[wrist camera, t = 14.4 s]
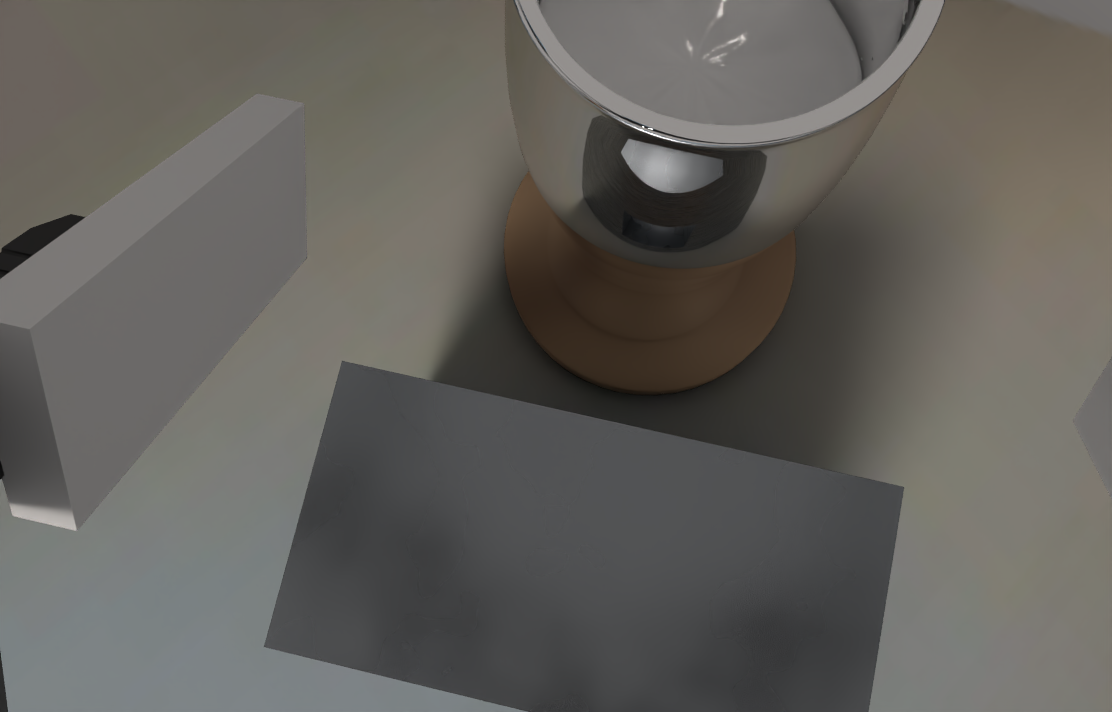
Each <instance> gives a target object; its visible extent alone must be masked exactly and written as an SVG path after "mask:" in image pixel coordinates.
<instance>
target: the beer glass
mask: <svg viewBox="0 0 1112 712" xmlns="http://www.w3.org/2000/svg"><path fill="white" fill-rule="evenodd" d="M944 3H945V0H505V56H506V68H507V80H508V91H509V99H510V105H511V110H512V115H513V119H514V124H515V128H516V133H517V137H518V142H519V145H520V149H521V152H522V155H523V158H524V161H525V163H526V166H527V168H528V170H529V172H530V174H531V177H532V179H533V181H534V183H535V185H536V188H537V190H538V192H539V194H540V196H541V198H542V200H543V201H544V203H545V205H546V206H547V208H548V209H549V211H550V213H551V216H550V220H549V225H548V231H547V255H548V261H549V266H550V269H551V273H552V275H553V278H554V280H555V282H556V284H557V286H558V288H559V290H560V292H561V293H562V295H563V296H564V298H565V299H566V300H567V302H568V303H569V304H570V305H571V307H572V308H573V309H574V310H575V311H576V312H577V313H578V314H579V315H581V316H582V317H583V318H584V319H585V320H587V321H588V322H590V323H591V324H593V325H594V326H596V327H598V328H599V329H601V330H603V331H606V332H608V333H610V334H613V335H616V336H620V337H623V338H628V339H634V340H661V339H667V338H672V337H675V336H679V335H682V334H684V333H687V332H689V331H691V330H693V329H695V328H697V327H699V326H701V325H702V324H704V323H705V322H707V321H708V320H709V319H711V318H712V317H713V316H714V315H715V314H716V313H717V312H718V311H719V310H720V309H721V308H722V307H723V306H724V305H725V304H726V302H727V301H728V300H729V298H730V297H731V295H732V294H733V292H734V290H735V288H736V286H737V284H738V282H739V280H740V277H741V275H742V272H743V268H744V264H745V262H747V261H749V260H751V259H752V258H754V257H756V256H758V255H759V254H761V253H763V252H764V251H765V250H767V249H768V248H770V247H771V246H773V245H774V244H775V243H777V242H778V241H779V240H781V239H782V238H784V237H785V236H786V235H788V234H789V233H790V232H792V231H793V230H794V229H795V228H797V227H798V226H799V225H800V224H801V223H802V222H804V221H805V220H806V219H807V218H808V217H809V216H810V215H811V214H812V212H813V211H814V210H815V209H816V208H817V207H818V206H819V205H820V204H821V202H822V201H823V200H824V199H825V198H826V197H827V196H828V195H829V194H830V192H831V191H832V190H833V189H834V188H835V187H836V186H837V185H838V183H839V182H840V181H841V180H842V178H843V177H844V176H845V174H846V173H847V171H848V170H849V168H850V167H851V165H852V164H853V163H854V161H855V160H856V158H857V157H858V155H859V154H860V152H861V151H862V149H863V148H864V147H865V145H866V144H867V142H868V141H869V139H870V137H871V136H872V134H873V133H874V131H875V129H876V127H877V126H878V124H879V122H880V120H881V119H882V117H883V115H884V114H885V112H886V110H887V108H888V107H889V105H890V103H891V101H892V99H893V98H894V96H895V94H896V92H897V90H898V88H899V86H900V84H901V83H902V81H903V79H904V77H905V75H906V73H907V71H908V69H909V68H910V67H911V66H912V64H913V63H914V62H915V60H916V59H917V58H918V56H919V55H920V53H921V52H922V50H923V49H924V47H925V45H926V44H927V42H928V40H929V39H930V37H931V35H932V33H933V31H934V29H935V27H936V25H937V22H938V20H939V17H940V15H941V12H942V9H943V6H944Z"/></svg>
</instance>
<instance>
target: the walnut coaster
mask: <svg viewBox="0 0 1112 712" xmlns="http://www.w3.org/2000/svg"><path fill="white" fill-rule="evenodd" d="M550 216H551V213H550V211H549V209H548V208H547V206H546V205H545V203H544V201H543V200H542V198H541V196H540V194H539V192H538V190H537V188H536V185H535V183H534V181H533V179H532V177H531V174H530V172H529V171H528V173H527V174H526V176H525V177H524V179H523V180H522V182H521V184H520V186H519V188H518V190H517V192H516V194H515V196H514V199H513V202H512V205H511V208H510V211H509V214H508V218H507V224H506V229H505V237H504V258H505V269H506V274H507V278H508V283H509V287H510V291H511V294H512V298H513V300H514V303H515V305H516V308H517V311H518V313H519V315H520V317H521V319H522V321H523V322H524V324H525V326H526V328H527V330H528V331H529V332H530V334H531V335H532V336H533V338H534V339H535V341H536V342H537V343H538V345H539V346H540V347H541V348H542V349H543V350H544V351H545V352H546V353H547V354H548V355H549V356H550V357H551V358H552V359H553V360H555V361H556V362H557V363H559V364H560V365H561V366H562V367H564V368H565V369H566V370H568V371H569V372H571V373H573V374H574V375H576V376H578V377H579V378H581V379H583V380H585V381H588V382H590V383H592V384H595V385H597V386H599V387H603V388H606V389H609V390H613V391H616V392H622V393H628V394H635V395H661V394H671V393H677V392H681V391H685V390H689V389H693V388H696V387H698V386H701V385H703V384H706V383H709V382H711V381H713V380H714V379H716V378H718V377H720V376H722V375H724V374H725V373H727V372H728V371H730V370H731V369H732V368H734V367H735V366H737V365H738V364H739V363H741V362H742V361H743V360H744V359H745V358H746V357H747V356H748V355H749V354H750V353H751V352H752V351H753V350H754V349H755V348H756V347H757V346H758V345H760V344H761V342H762V341H763V340H764V339H765V337H766V336H767V335H768V334H769V332H770V331H771V330H772V328H773V327H774V325H775V323H776V322H777V320H778V318H779V317H780V315H781V313H782V311H783V309H784V306H785V304H786V301H787V299H788V297H789V294H790V290H791V286H792V282H793V278H794V272H795V263H796V239H795V233H794V230H793V231H792V232H790V233H789V234H788V235H786V236H785V237H784V238H782V239H781V240H779V241H778V242H777V243H775V244H774V245H773V246H771V247H770V248H768V249H767V250H765V251H764V252H763V253H761V254H759V255H758V256H756V257H754V258H752V259H751V260H749V261H747V262H745V264H744V268H743V272H742V275H741V277H740V280H739V282H738V284H737V286H736V288H735V290H734V292H733V294H732V295H731V297H730V298H729V300H728V301H727V302H726V304H725V305H724V306H723V307H722V308H721V309H720V310H719V311H718V312H717V313H716V314H715V315H714V316H713V317H712V318H711V319H709V320H708V321H707V322H705V323H704V324H702V325H701V326H699V327H697V328H695V329H693V330H691V331H689V332H687V333H684V334H682V335H679V336H675V337H672V338H667V339H661V340H634V339H628V338H623V337H620V336H616V335H613V334H610V333H608V332H606V331H603V330H601V329H599V328H598V327H596V326H594V325H593V324H591V323H590V322H588V321H587V320H585V319H584V318H583V317H582V316H581V315H579V314H578V313H577V312H576V311H575V310H574V309H573V308H572V307H571V305H570V304H569V303H568V302H567V300H566V299H565V298H564V296H563V295H562V293H561V292H560V290H559V288H558V286H557V284H556V282H555V280H554V278H553V275H552V273H551V269H550V266H549V261H548V255H547V231H548V225H549V220H550Z"/></svg>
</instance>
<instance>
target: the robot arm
mask: <svg viewBox="0 0 1112 712" xmlns="http://www.w3.org/2000/svg"><path fill="white" fill-rule="evenodd" d="M306 258H307V226H306V173H305V120H304V103H301V102H296V101H291V100H286V99H281V98H276V97H271V96H266V95H262V94H256V95H254V96H253V97H251V98H250V99H249V100H247V101H246V102H245V103H243V104H242V105H240V106H239V107H238V108H236V109H235V110H233V111H232V112H231V113H229V114H228V115H227V116H225V117H224V118H222V119H221V120H220V121H218V122H217V123H215V124H214V125H213V126H211V127H210V128H209V129H207V130H206V131H204V132H203V133H202V134H200V135H199V136H197V137H196V138H195V139H193V140H192V141H191V142H189V143H188V144H186V145H185V146H184V147H182V148H181V149H179V150H178V151H177V152H175V153H174V154H173V155H171V156H170V157H168V158H167V159H166V160H164V161H163V162H161V163H160V164H159V165H157V166H156V167H155V168H153V169H152V170H150V171H149V172H148V173H146V174H145V175H143V176H142V177H141V178H139V179H138V180H137V181H135V182H134V183H132V184H131V185H130V186H128V187H127V188H125V189H124V190H123V191H121V192H120V193H119V194H117V195H116V196H114V197H113V198H112V199H110V200H109V201H107V202H106V203H105V204H103V205H102V206H101V207H99V208H98V209H96V210H95V211H94V212H92V213H91V214H89V215H88V216H87V217H82V216H77V215H72V214H70V215H67V216H64V217H62V218H59V219H56V220H53V221H50V222H47V223H44V224H41V225H39V226H36V227H33V228H30V229H29V230H27V231H26V232H25V233H23V234H22V235H20V236H19V237H17V238H16V239H14V240H13V241H11V242H10V243H8V244H7V245H5V246H4V247H3V248H2V251H1V253H0V479H1V478H2V480H3V484H4V487H5V491H6V494H7V498H8V501H9V505H10V508H11V511H12V515H13V516H15V517H19V518H24V519H28V520H32V521H37V522H41V523H45V524H49V525H54V526H58V527H62V528H67V529H71V530H75V531H77V530H78V529H79V528H80V527H81V526H82V524H83V523H84V522H85V521H86V520H87V518H88V517H89V516H90V515H91V514H92V513H93V511H94V510H95V509H96V508H97V507H98V505H99V504H100V503H101V502H102V501H103V499H104V498H105V497H106V496H107V495H108V494H109V492H110V491H111V490H112V489H113V488H114V486H115V485H116V484H117V483H118V482H119V480H120V479H121V478H122V477H123V476H124V474H125V473H126V472H127V471H128V470H129V469H130V467H131V466H132V465H133V464H134V463H135V461H136V460H137V459H138V458H139V457H140V455H141V454H142V453H143V452H144V451H145V450H146V448H147V447H148V446H149V445H150V444H151V442H152V441H153V440H154V439H155V438H156V436H157V435H158V434H159V433H160V432H161V431H162V429H163V428H164V427H165V426H166V425H167V423H168V422H169V421H170V420H171V419H172V417H173V416H174V415H175V414H176V413H177V412H178V410H179V409H180V408H181V407H182V406H183V404H184V403H185V402H186V401H187V400H188V398H189V397H190V396H191V395H192V394H193V393H194V391H195V390H196V389H197V388H198V387H199V385H200V384H201V383H202V382H203V381H204V379H205V378H206V377H207V376H208V375H209V374H210V372H211V371H212V370H213V369H214V368H215V366H216V365H217V364H218V363H219V362H220V360H221V359H222V358H223V357H224V356H225V355H226V353H227V352H228V351H229V350H230V349H231V347H232V346H233V345H234V344H235V343H236V341H237V340H238V339H239V338H240V337H241V336H242V334H243V333H244V332H245V331H246V330H247V328H248V327H249V326H250V325H251V324H252V322H253V321H254V320H255V319H256V318H257V317H258V315H259V314H260V313H261V312H262V311H263V309H264V308H265V307H266V306H267V305H268V303H269V302H270V301H271V300H272V299H273V298H274V296H275V295H276V294H277V293H278V292H279V290H280V289H281V288H282V287H283V286H284V284H285V283H286V282H287V281H288V280H289V279H290V277H291V276H292V275H293V274H294V273H295V271H296V270H297V269H298V268H299V267H300V265H301V264H302V263H303V262H304V261H305V260H306ZM1073 422H1074V424H1075V426H1076V428H1077V430H1078V432H1079V434H1080V436H1081V438H1082V441H1083V443H1084V445H1085V447H1086V449H1087V451H1088V453H1089V455H1090V457H1091V459H1092V461H1093V463H1094V465H1095V467H1096V469H1097V471H1098V473H1099V475H1100V477H1101V479H1102V481H1103V483H1104V485H1105V487H1106V489H1107V491H1108V493H1109V495H1110V497H1111V499H1112V357H1111V359H1110V361H1109V362H1108V364H1107V366H1106V367H1105V369H1104V370H1103V372H1102V374H1101V375H1100V377H1099V379H1098V380H1097V382H1096V383H1095V385H1094V387H1093V388H1092V390H1091V392H1090V393H1089V395H1088V396H1087V398H1086V400H1085V401H1084V403H1083V405H1082V406H1081V408H1080V409H1079V411H1078V413H1077V414H1076V416H1075V418H1074V419H1073ZM0 712H8V707H7V700H6V692H5V684H4V676H3V669H2V661H1V653H0Z"/></svg>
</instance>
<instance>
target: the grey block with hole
mask: <svg viewBox="0 0 1112 712" xmlns="http://www.w3.org/2000/svg"><path fill="white" fill-rule="evenodd" d="M903 491H904V487H902V486H897V485H893V484H888V483H884V482H879V481H875V480H871V479H866V478H862V477H857V476H853V475H848V474H844V473H839V472H835V471H830V470H826V469H822V468H817V467H813V466H808V465H804V464H799V463H795V462H790V461H786V460H781V459H777V458H773V457H768V456H764V455H759V454H755V453H750V452H746V451H741V450H737V449H732V448H728V447H724V446H719V445H715V444H710V443H706V442H701V441H697V440H692V439H688V438H683V437H679V436H675V435H670V434H666V433H661V432H657V431H652V430H648V429H643V428H639V427H634V426H630V425H626V424H621V423H617V422H612V421H608V420H603V419H599V418H594V417H590V416H585V415H581V414H577V413H572V412H568V411H563V410H559V409H554V408H550V407H545V406H541V405H536V404H532V403H528V402H523V401H519V400H514V399H510V398H505V397H501V396H496V395H492V394H487V393H483V392H479V391H474V390H470V389H465V388H461V387H456V386H452V385H447V384H443V383H438V382H434V381H430V380H425V379H421V378H416V377H412V376H407V375H403V374H398V373H394V372H389V371H385V370H381V369H376V368H372V367H367V366H363V365H358V364H354V363H349V362H345V361H342V363H341V367H340V371H339V374H338V378H337V382H336V385H335V389H334V393H333V396H332V400H331V404H330V407H329V411H328V414H327V418H326V422H325V425H324V429H323V433H322V436H321V440H320V444H319V447H318V451H317V455H316V458H315V462H314V466H313V469H312V473H311V477H310V480H309V484H308V488H307V491H306V495H305V499H304V502H303V506H302V510H301V513H300V517H299V521H298V524H297V528H296V532H295V535H294V539H293V542H292V546H291V550H290V553H289V557H288V561H287V564H286V568H285V572H284V575H283V579H282V583H281V586H280V590H279V594H278V597H277V601H276V605H275V608H274V612H273V616H272V619H271V623H270V627H269V630H268V634H267V638H266V641H265V645H264V647H266V648H271V649H275V650H279V651H283V652H287V653H291V654H295V655H299V656H303V657H307V658H311V659H315V660H320V661H324V662H328V663H332V664H336V665H340V666H344V667H348V668H352V669H356V670H360V671H364V672H369V673H373V674H377V675H381V676H385V677H389V678H393V679H397V680H401V681H405V682H409V683H414V684H418V685H422V686H426V687H430V688H434V689H438V690H442V691H446V692H450V693H454V694H458V695H463V696H467V697H471V698H475V699H479V700H483V701H487V702H491V703H495V704H499V705H503V706H507V707H512V708H516V709H520V710H524V711H528V712H868V711H869V705H870V699H871V692H872V686H873V680H874V674H875V667H876V661H877V655H878V648H879V642H880V636H881V629H882V623H883V617H884V611H885V604H886V598H887V592H888V585H889V579H890V573H891V567H892V560H893V554H894V548H895V541H896V535H897V529H898V522H899V516H900V510H901V504H902V497H903Z"/></svg>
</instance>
